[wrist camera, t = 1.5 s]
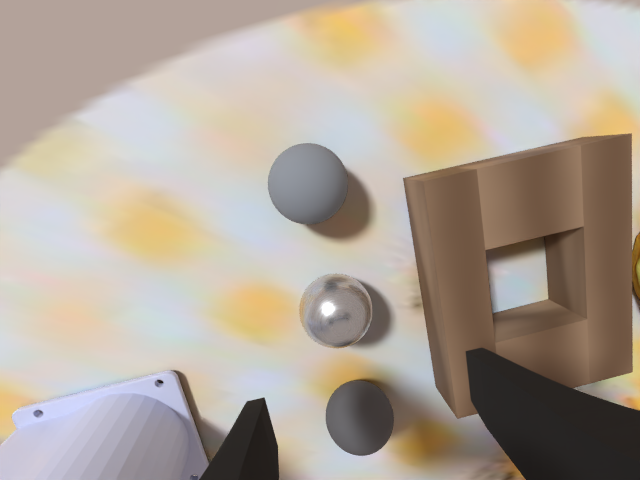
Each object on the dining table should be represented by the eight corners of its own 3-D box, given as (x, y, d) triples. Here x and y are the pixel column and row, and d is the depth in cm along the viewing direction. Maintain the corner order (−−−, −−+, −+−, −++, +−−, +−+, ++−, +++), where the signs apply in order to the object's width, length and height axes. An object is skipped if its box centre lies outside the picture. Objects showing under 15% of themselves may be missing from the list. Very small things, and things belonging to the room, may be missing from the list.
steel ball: (305, 334, 22) (311, 371, 18) (291, 273, 21) (293, 299, 17) (369, 318, 22) (387, 352, 18) (356, 257, 21) (373, 279, 17)
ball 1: (278, 224, 20) (278, 240, 16) (261, 153, 19) (256, 152, 15) (347, 208, 20) (362, 220, 17) (333, 137, 20) (345, 132, 16)
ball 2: (329, 428, 24) (338, 481, 20) (316, 375, 23) (323, 420, 19) (387, 412, 24) (408, 462, 20) (377, 360, 23) (396, 401, 19)
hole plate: (435, 386, 24) (457, 418, 21) (403, 178, 20) (423, 181, 17) (590, 346, 24) (632, 372, 21) (582, 137, 21) (631, 133, 18)
